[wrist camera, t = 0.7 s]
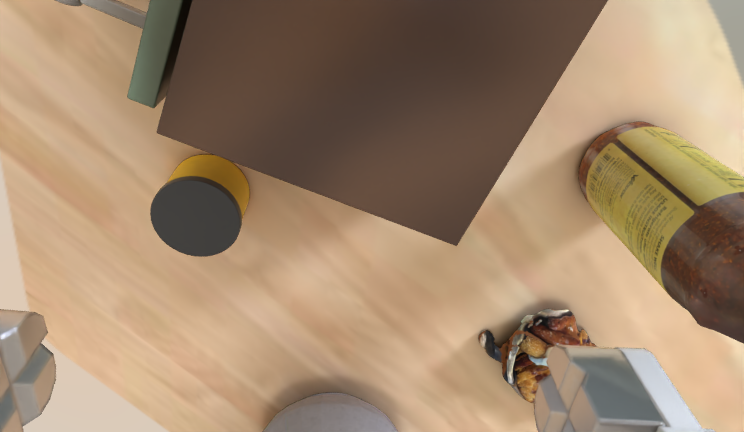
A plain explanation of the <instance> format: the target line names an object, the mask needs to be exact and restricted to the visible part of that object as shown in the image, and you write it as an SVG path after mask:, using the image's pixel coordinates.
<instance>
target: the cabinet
mask: <svg viewBox="0 0 744 432" xmlns="http://www.w3.org/2000/svg"><path fill="white" fill-rule="evenodd" d="M607 1H608V0H192V3H191V7H190V11H189V14H188V18H187V22H186V25H185V29H184V33H183V36H182V40H181V44H180V47H179V51H178V55H177V58H176V62H175V66H174V70H173V73H172V77H171V81H170V84H169V88H168V92H167V95H166V99H165V103H164V106H163V110H162V114H161V117H160V121H159V125H158V129H157V133H158V134H161V135H163V136H166V137H169V138H171V139H174V140H177V141H179V142H182V143H185V144H187V145H190V146H193V147H195V148H198V149H201V150H203V151H206V152H209V153H211V154H214V155H217V156H219V157H222V158H224V159H227V160H230V161H232V162H235V163H238V164H240V165H243V166H246V167H248V168H251V169H254V170H256V171H259V172H262V173H264V174H267V175H270V176H272V177H275V178H278V179H280V180H283V181H286V182H288V183H291V184H293V185H296V186H299V187H301V188H304V189H307V190H309V191H312V192H315V193H317V194H320V195H323V196H325V197H328V198H331V199H333V200H336V201H339V202H341V203H344V204H347V205H349V206H352V207H355V208H357V209H360V210H362V211H365V212H368V213H370V214H373V215H376V216H378V217H381V218H384V219H386V220H389V221H392V222H394V223H397V224H400V225H402V226H405V227H408V228H410V229H413V230H416V231H418V232H421V233H424V234H426V235H429V236H431V237H434V238H437V239H439V240H442V241H445V242H447V243H450V244H453V245H455V246H457V245H458V243H459V241H460V240H461V238H462V236H463V235H464V233H465V232H466V230H467V228H468V227H469V225H470V223H471V222H472V220H473V219H474V217H475V215H476V214H477V212H478V210H479V209H480V207H481V206H482V204H483V202H484V201H485V199H486V197H487V196H488V194H489V193H490V191H491V189H492V188H493V186H494V184H495V183H496V181H497V180H498V178H499V176H500V175H501V173H502V171H503V170H504V168H505V167H506V165H507V163H508V162H509V160H510V158H511V157H512V155H513V154H514V152H515V150H516V149H517V147H518V145H519V144H520V142H521V141H522V139H523V137H524V136H525V134H526V132H527V131H528V129H529V128H530V126H531V124H532V123H533V121H534V119H535V118H536V116H537V115H538V113H539V111H540V110H541V108H542V106H543V105H544V103H545V102H546V100H547V98H548V97H549V95H550V93H551V92H552V90H553V89H554V87H555V85H556V84H557V82H558V80H559V79H560V77H561V76H562V74H563V72H564V71H565V69H566V67H567V66H568V64H569V63H570V61H571V59H572V58H573V56H574V54H575V53H576V51H577V50H578V48H579V46H580V45H581V43H582V41H583V40H584V38H585V37H586V35H587V33H588V32H589V30H590V28H591V27H592V25H593V24H594V22H595V20H596V19H597V17H598V15H599V14H600V12H601V11H602V9H603V7H604V6H605V4H606V2H607Z"/></svg>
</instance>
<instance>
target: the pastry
mask: <svg viewBox="0 0 744 432" xmlns="http://www.w3.org/2000/svg"><path fill="white" fill-rule="evenodd" d="M521 323H522V324H521V325H520V327H519V328H518V330H517V331H515V332H514V334H513V335H512V336H511V337H510V338H509V339H510V340H509V339H508V341H506V344H504V343H503V346H502V347H501V349H500V348H499V347H497V346H496V345H494V344H495V343H494V337H493V335H492V334H490V332H488V331H487V330H486V331H483V332H482V333H481V334H480V335H479V342H480V344H481V346H483V347H484V348H486V352H487V354H488V355H489V356H490V357H492V358H493V359H495V360H498V361H500V362H501V363H503V365H502V366H503V367H502V369H503V371H502V374H503V377H504V379H505V380H506V381H507V382H508V383H509V384H510V385H511V386H512V387H513V388H514V389H515V391H516V392H517V393H518V394H519V395H520V396H521V397H522V398H524V399H525V400H527V401H529V402H531V403H532V402H534V403H535V394H536V391H537V388H538V384H539V382H540V381H541V380H542V379H544V378H545V377H546V376H548V375H549V374H550V370H549V368H548V365H547V363H546V361H547V359H548V356H549V353H550V351H551V350H552V348H553V347H554V346H555V345H572V346H591V347H596V346H595V345H594V344H593V343H592V344H591V342H590V339H589V336H588V335H587V333H586V331H585V330H584V329H582V330H581V332H579V331H578V330H577V326H576V320H575V317H574V315H573V314H572V312H570V311H569V310H557V311H555V310H553V309H551V310H549V309H545V310H543V311H540V312H539V313H538V314H536V315H528V316H525V317H524V318H523V320H522V321H521Z"/></svg>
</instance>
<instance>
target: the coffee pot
mask: <svg viewBox="0 0 744 432" xmlns="http://www.w3.org/2000/svg"><path fill="white" fill-rule="evenodd" d="M263 432H398V430H397V429H396V427H395V426H394V425H393V423H392V422H391V421H390V419H389V418H388V417H387V415H385V414H384V413H383V412H381V411H380V410H379V409H377V408H376V407H375V406H373V405H371V404H369V403H367V402H365V401H363V400H361V399H359V398H357V397H354V396H352V395H348V394H343V393H321V394H315V395H312V396H309V397H307V398H304V399H302V400H300V401H298V402H295V403H293V404H291V405H289V406H287V407H286V408H284V409H283V410H282V411H280V412H279V413H277V414H276V415H275V417H274V418H273V419H272V420H271V422H270V423H269V424H268V425H267V427H266V428H265V429H264V431H263Z"/></svg>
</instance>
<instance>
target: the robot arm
mask: <svg viewBox="0 0 744 432" xmlns="http://www.w3.org/2000/svg"><path fill="white" fill-rule="evenodd" d="M47 333H48V331H47V327H46V324H45V321H44V317H43V316H42V315H40V314H38V313H36V312H27V311H15V310H4V309H0V432H24V431H23V426H24V425H26V424H27V423H29V422H30V421H32V420H33V419H35V418H37V417H38V416H40V415H41V414H42V412H43V410H44V408H45V407H46V405H47V403H48V402H49V400H50V397H51V394H52V391H53V387H54V384H55V381H56V364H55V360H54V355H53V353H52V352H50V351H49V350H48V349H47V348H46V347H45V346H44V345H43V344H41V342H42V340H43V339H44V337H45V336H46V335H47ZM546 363H547V365H548V368H549V370H550V374H549V375H548V376H546V377H545V378H544V379H542V380H541V381H540V382H539V384H538V388H537V391H536V394H535V405H534V415H535V421H536V426H537V429H538V432H715V431H714V430H712V429H702V427H701V426H700V424H699V423H698V421H697V420H696V418H695V417H694V415H693V414H692V412H691V411H690V409H689V408H688V406H687V405H686V403H685V402H684V400H683V399H682V397H681V396H680V394H679V393H678V391H677V390H676V388H675V387H674V385H673V384H672V382H671V381H670V379H669V378H668V376H667V375H666V373H665V372H664V370H663V369H662V367H661V366H660V364H659V363H658V361H657V360H656V358H655V357H654V355H653V354H652V353H651V352H649V351H648V350H646V349H641V348H619V347H615V348H609V347H591V346H572V345H555V346H554V347H553V348H552V350H551V351H550V353H549V356H548V359H547V361H546Z"/></svg>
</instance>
